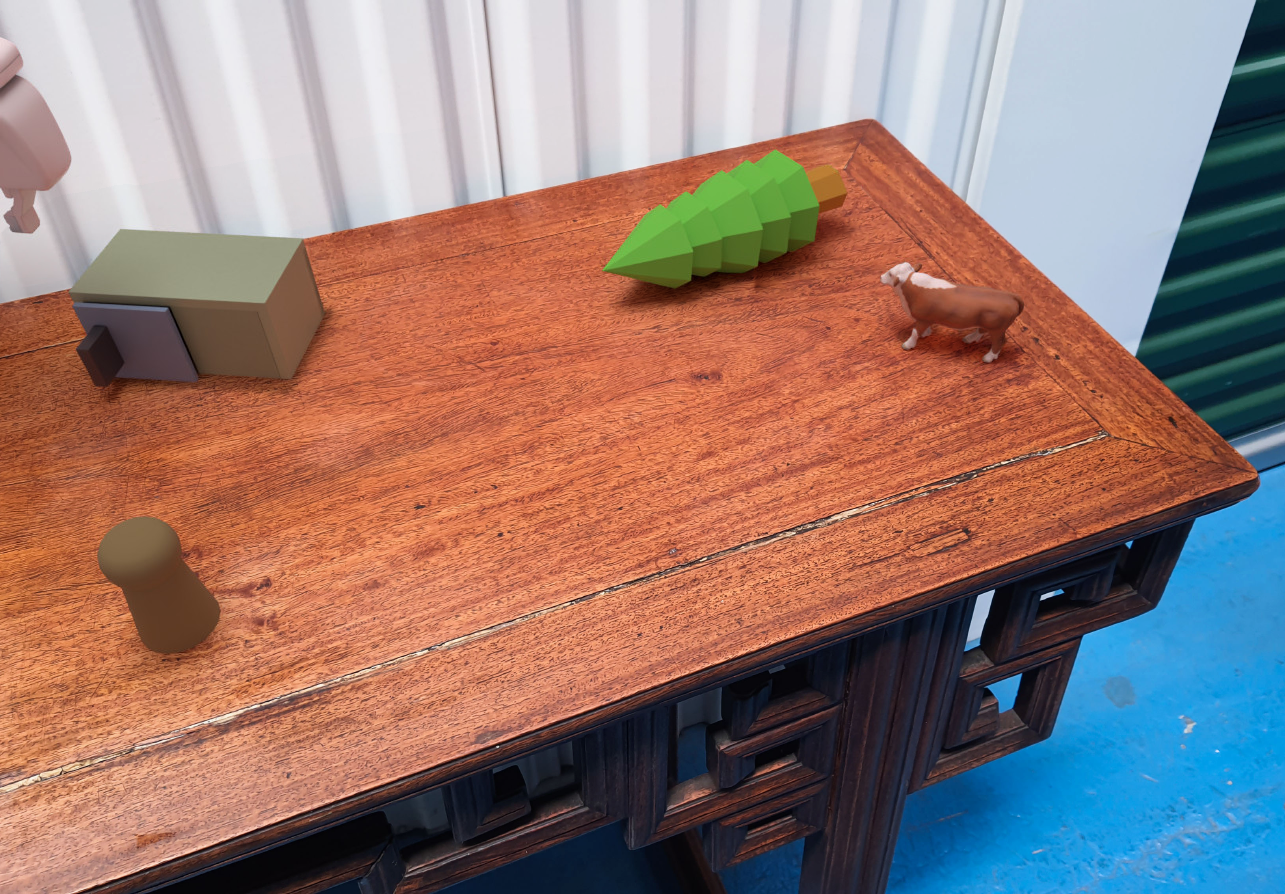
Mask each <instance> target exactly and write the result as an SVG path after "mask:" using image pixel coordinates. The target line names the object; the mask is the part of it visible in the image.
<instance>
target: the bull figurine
mask: <svg viewBox="0 0 1285 894" xmlns="http://www.w3.org/2000/svg"><path fill="white" fill-rule="evenodd" d="M922 268H923V264H922V263H921V262H917V263H915V264H914V265H912V264H910V263H909V262H907V261H904V262H902V263H899V264H896V265H895V266H894V267H892V268H889V270H887V271H886V272H885V273H882V274H881V275H880V279H879V281H880V284H882V285H884V286H886V285H887V286H890V288H891V290H892V291H893V293H894V294H895V295H896V296H898V298H899V301H900V306H901V309H902V310H903V312H905V314H906V315H907V317H908V318H909V319H910V320H912V321H913V322H914V323H915V325H914V328H912V331H911V335H910V336H909V338H908V339H907V340H906V341H905V342H902V344H901V348H902V349H903V350H906V351H909V350H911V348H912V349H913V348H915V347H916V346H917V341H918V339H919V338H925V337H926V336H927V337H929V336H930V335H931V334H932V329H931V326H932V325H939V326H942V327H944V328H948V329H949V330H950V329H951V330H957V331H958V332H963V331H965V330H970V329H973V328H977V329H976V330H975V331H973V332H972V333H969V334H967V335H966V336H964V337H962V341H963V342H964V343H965V344H971V343H973V342H974V341H975V342H976V343H978V342H979V341H980V340H981V338H982V337H983V335H985V334H986V333H987V334H988V335H989V338H990V340H991V348H990V350H989V351H988V352H987V353H986V354H984V355H983V356H982V357H981V358H982V359H981V360H982V362H983V363H986V364H991V363H992V361H994V360H997V359H998V357H999V354H1000V352H1001V351H1002V348H1003V347H1004V346H1006V345H1007V343H1008V339H1007V337H1006V331H1007V330H1008V329H1009V328H1010V327H1011V326H1013V324H1014V322H1015V321H1016V319H1017V317H1019V316H1020V315H1021V314H1022V313H1023V311H1024V309H1025V302H1024V300H1023V298H1022V297H1021V296H1020V295H1019V294H1018V293H1015V292H1012V291H1007V290H1001V289H996V288H993V287H990V286H976V285H970V284H969V285H968V284H963V283H960V282H959V283H958V282H953V281H950V280H948V279H945V278H941V277H940V278H939V277H933V276H931V275H930V274H927V273H924V272H919V271H920V270H921V269H922Z"/></svg>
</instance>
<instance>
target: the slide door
mask: <svg viewBox="0 0 1285 894" xmlns="http://www.w3.org/2000/svg"><path fill="white" fill-rule="evenodd" d="M72 309H73V311H74V313H75V315H76V317H77V319H78V321H79V322H80V324H81V327H82V328H83V330H84V332H85V334H86V335H85V336H84V337H83V339H82V340H81V341H80V343H79V344H78V346H76V348H75V351H76V354H77V355H78V357H79V358H80V360H81V363H82V365H83V366H84V368H85V369H86V372H87V374H88V375H89V377H90V379H91V381H92V383H93V384H94V387H98V388H108V387H109V386H110V385H111V383H112V382H113V381H114V380H115V378H122V379H137V380H138V379H139V380H152V381H153V380H154V381H155V380H156V381H169V382H170V381H171V382H185V383H186V382H187V383H197V382H198V381H199V379H200V377H199V375H198V373H197V371H196V370H197V369H196V368H195V365H194V364H193V361H192V358H191V357H190V353H189V352H188V350H187V348H186V347H187V346H186V344H185V343H184V341H183V338H182V337H181V334H180V332H179V331H180V330H179V328H178V327H177V325H176V322H175V320H174V317H173V316H172V315H173V314H172V313H171V311H170V309H168V308H164V307H147V306H129V305H112V304H94V303H77V302H76V303H74V302H73V304H72Z"/></svg>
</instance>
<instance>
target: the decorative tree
mask: <svg viewBox="0 0 1285 894" xmlns="http://www.w3.org/2000/svg"><path fill="white" fill-rule="evenodd" d="M848 193H849V192H848V190H847V186H845V183H844V181H843V178H842V175H841V174H840V171H839V170H838V169H836V168H835V167H833V166H832V165H830V164H823V165H818V166H815V167H814V168H812V169H810V170H807V171H806V170H805V168H804V166H803V165H801V164H800V163H798V162H797V161H795V160H793V159H792V158H790V157H789V156H787V155H785V154H784V153H782V152H780V151H778V150H777V149H773V150H772V151H771V152H769V153H767V154H766V155H765V156H763V157H762V158H760V159H759V160H757V161H755V162H754V163H753V162H751V160H748V159H746V160H744V161H743V162H742V163H740V164H738V165H737V166H735V167H734V168H733V169H731V170H730V171H728V172H727V173H726V171H724V170H722V169H720V170H719V171H718V172H717V173H715V174H713V175H712V176H711V177H709V178H708V179H706V180H705V181H704V182H702V183H701V184H699V186H698V187H697V189H695V191H694V192H693V193H692V194H691V193H690V192H689V191H687V190H685V191H684V192H682V193H681V194H679V195H678V196H677V197H675V198H674V199H673V200H671V201H670V202H669V204H668V205H667V207H665V206H663V205H662V204H661V203H660V204H658V205H657V206H655V207H654V208H653V209H651V210H650V211H648V212H647V213H645V214H644V216H643V217H642V218H641V219H640V221H639V222H638V223H637V224H636V226H635V227H634V229H633V230H632V231H631V232H630V233H629V235H628V236H627V238H625V240H624V242H623V243H622V244H621V245H620V247H618V249H617V251H616V252H615V253H614V254H613V256H612V257H611V258H610V259H609V261H608V262H607V264H606V265H605V266H604V268H603V269H602V270H601V272H605V273H609V274H613V275H617V276H620V277H625V278H629V279H634V280H638V281H641V282H646V283H650V284H654V285H659V286H661V287H667V288H671V289H677V288H679V287H681V286H684V285H685V284H687V283H689V282H691V281H692V275H693V276H697V277H698V276H699V277H703V278H705V277H707V276H709V275H711V274H712V273H714V272H717V273H730V274H731V273H732V274H744V273H747V272H748V271H751V270H753V269H755V268H757V267H758V265H759V262H760V263H763V264H766V263H768V262H770V261H773V260H775V259H777V258H778V257H781V256H783V255H784V254H787V252H790V253H794V252H795V251H797V250H799V249H801V248H803V247H805V246H808V245H810V244H812V243H814V242H815V240H816V233H817V226H818V220H819V215H820V214H822V213H826V212H829V211H833V210H835V209H839V208H842V207H843V205H844V203H845V201H846V198H847V197H848Z"/></svg>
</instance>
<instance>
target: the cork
mask: <svg viewBox="0 0 1285 894" xmlns="http://www.w3.org/2000/svg"><path fill="white" fill-rule="evenodd" d="M180 539H181V538H180V536H179V535H178V533H177V531H176V530H175V529H174V528H173V527H172V526H171V525H170V524H169V523H168V522H166V521H164V520H162V519H160V518H156V517H153V516H137V517H131V518H128V519H126V520H122V521H121V522H120V523H118V524H115V525H114V526H113V527H112V528H111V529H110V530H109V531H107V532H106V533H105V534H104V536H103V538H102V539H101V540H100V543H99V546H98V550H97V554H96V556H97V563H98V568H99V570H100V572H101V573H102V574H103V575H104V577H105V578H106V579H107V581H108V582H110V583H111V584H113V585H115V586H116V587H118V588H120V589H121V591H122V593H123V597H124V599H125V600H126V604H127V607H128V608H129V609H128V610H129V612H130V615H131V617H132V620H133V623H134V625H135V627H136V630H137V633H138V635H139V638H140V641H141V642H142V643H143V645H144V646H145V648H146V649H149V650H151V651H152V652H154V653H157V654H163V655H171V654H178V653H183V652H185V651H188V650H190V649H193V648H195V647H197V646H198V645H199V644H201V643H203V642H204V641H206V639H207V638H208V637H209V636H210V635H211V634H212V633H213V632H214V631H215V629H216V627H217V625H218V623H219V622H220V617H221V607H220V603H219V601H218V600H217V599H216V598H215V596H214V594H212V592H211V591H210V590H209V589H208V587H207V586H205V584H204V583H203V582H202V580H201V579H200V578H199V577H198V575H196V574H195V572H194V571H193V570H192V569H191V567H190V566H189V565H188V563H186V562H185V560H184V558H182V555H183V548H182V543H181V540H180Z"/></svg>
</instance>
